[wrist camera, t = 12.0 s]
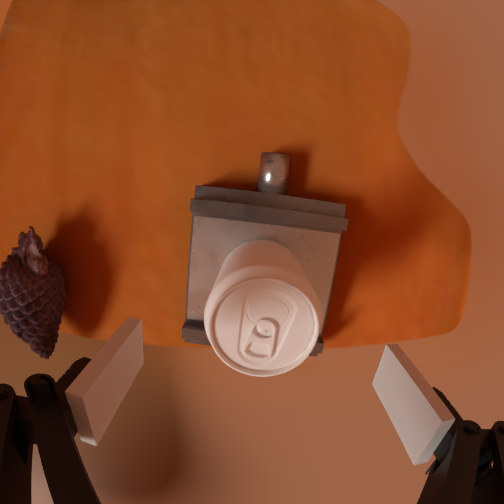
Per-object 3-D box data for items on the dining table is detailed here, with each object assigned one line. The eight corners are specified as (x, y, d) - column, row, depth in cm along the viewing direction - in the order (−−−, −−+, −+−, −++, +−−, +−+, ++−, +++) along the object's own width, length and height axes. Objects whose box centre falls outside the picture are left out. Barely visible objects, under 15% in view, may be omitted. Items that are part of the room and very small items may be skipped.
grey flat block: (205, 149, 31) (197, 143, 26) (342, 167, 31) (355, 164, 27) (189, 346, 36) (181, 366, 31) (308, 360, 36) (314, 380, 31)
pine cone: (87, 347, 36) (51, 385, 26) (38, 335, 36) (0, 364, 26) (74, 221, 33) (23, 233, 23) (23, 220, 33) (-27, 230, 23)
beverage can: (310, 248, 30) (343, 286, 18) (288, 321, 31) (304, 390, 20) (230, 229, 29) (213, 256, 18) (213, 305, 31) (191, 368, 19)
